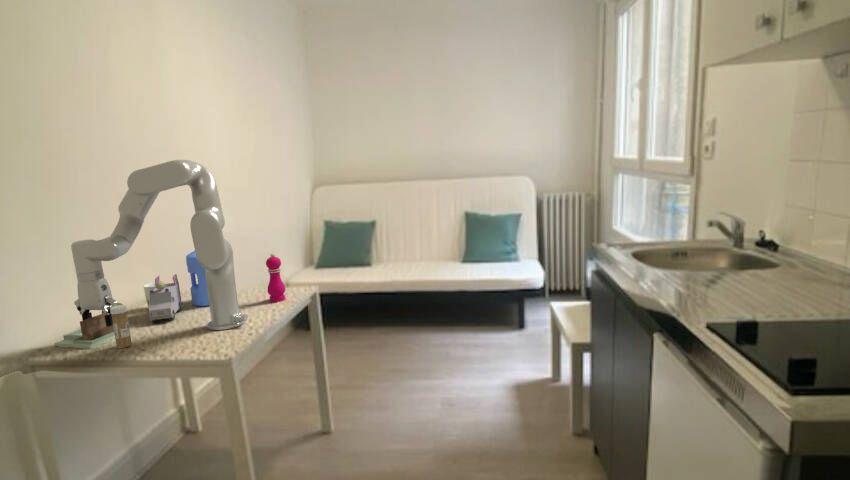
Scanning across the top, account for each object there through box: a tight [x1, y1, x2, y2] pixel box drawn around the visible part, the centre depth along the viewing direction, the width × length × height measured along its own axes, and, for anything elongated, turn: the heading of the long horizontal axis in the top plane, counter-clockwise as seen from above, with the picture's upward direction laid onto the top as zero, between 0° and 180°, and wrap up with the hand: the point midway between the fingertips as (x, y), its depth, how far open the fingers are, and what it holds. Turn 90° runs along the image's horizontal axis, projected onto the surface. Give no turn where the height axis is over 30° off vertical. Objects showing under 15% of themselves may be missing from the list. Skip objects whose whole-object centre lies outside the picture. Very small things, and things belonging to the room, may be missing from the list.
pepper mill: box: [265, 252, 286, 303], centre depth 208 cm, size 7×7×20 cm
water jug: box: [185, 250, 210, 307], centre depth 211 cm, size 16×16×28 cm
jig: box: [53, 328, 116, 350], centre depth 173 cm, size 15×15×3 cm
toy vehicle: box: [146, 273, 183, 323], centre depth 194 cm, size 9×20×15 cm, turn 15°
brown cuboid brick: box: [79, 312, 114, 341], centre depth 171 cm, size 4×10×7 cm, turn 165°
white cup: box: [142, 281, 166, 310], centre depth 208 cm, size 8×8×10 cm
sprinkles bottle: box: [110, 304, 133, 349], centre depth 163 cm, size 5×5×13 cm
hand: (99, 325), depth 171 cm, fingers open, 9 cm apart
